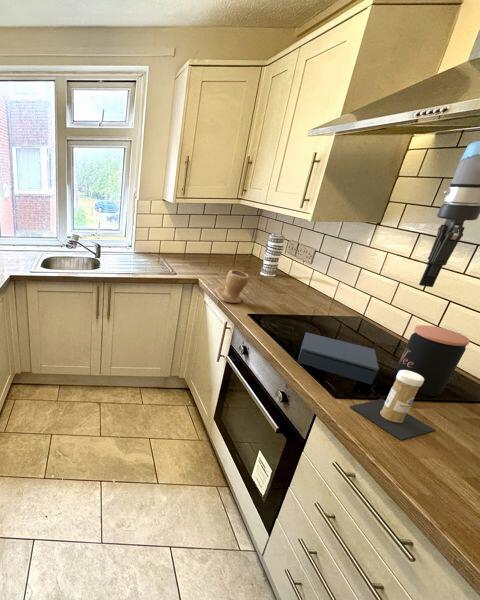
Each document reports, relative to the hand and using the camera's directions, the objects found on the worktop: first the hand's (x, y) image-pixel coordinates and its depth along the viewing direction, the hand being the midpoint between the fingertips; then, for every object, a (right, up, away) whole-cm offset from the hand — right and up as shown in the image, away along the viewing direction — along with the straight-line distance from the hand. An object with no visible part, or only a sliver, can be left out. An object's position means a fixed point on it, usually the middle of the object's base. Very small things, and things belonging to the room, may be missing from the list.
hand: (425, 285), depth 94 cm
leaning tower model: (+14, +12, +104) cm, 105 cm away
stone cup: (-28, -4, +65) cm, 71 cm away
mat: (-23, -36, -12) cm, 44 cm away
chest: (-18, -26, +12) cm, 34 cm away
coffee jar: (-2, -31, +1) cm, 31 cm away
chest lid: (-18, -21, +10) cm, 30 cm away
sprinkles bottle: (-23, -35, -12) cm, 44 cm away
